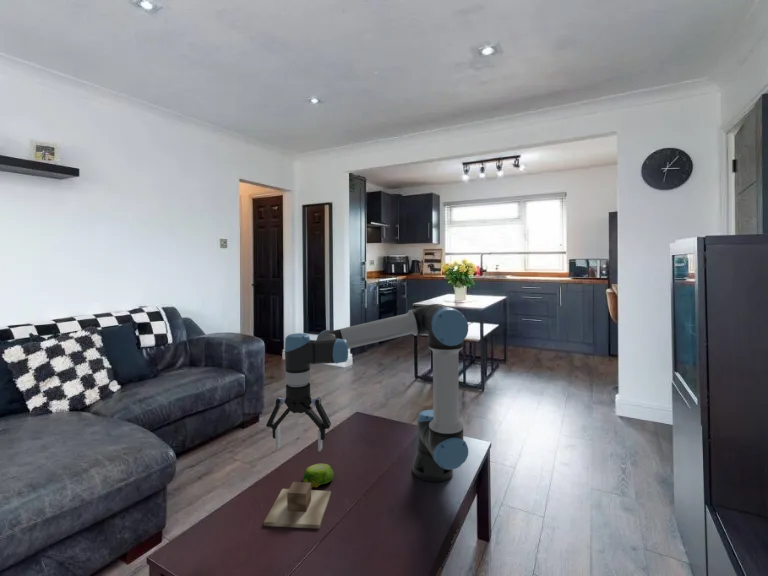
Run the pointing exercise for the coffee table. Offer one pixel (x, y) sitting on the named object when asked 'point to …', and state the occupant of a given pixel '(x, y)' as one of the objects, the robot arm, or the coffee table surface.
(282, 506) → the oak board
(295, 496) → the walnut cube
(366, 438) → the coffee table surface
